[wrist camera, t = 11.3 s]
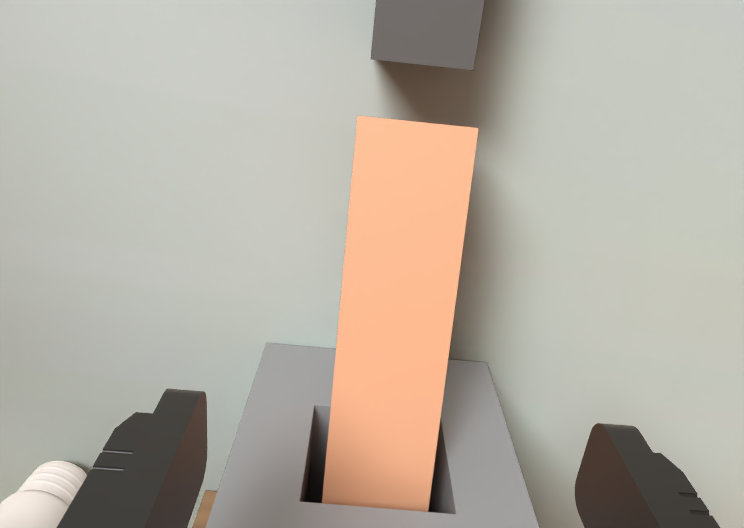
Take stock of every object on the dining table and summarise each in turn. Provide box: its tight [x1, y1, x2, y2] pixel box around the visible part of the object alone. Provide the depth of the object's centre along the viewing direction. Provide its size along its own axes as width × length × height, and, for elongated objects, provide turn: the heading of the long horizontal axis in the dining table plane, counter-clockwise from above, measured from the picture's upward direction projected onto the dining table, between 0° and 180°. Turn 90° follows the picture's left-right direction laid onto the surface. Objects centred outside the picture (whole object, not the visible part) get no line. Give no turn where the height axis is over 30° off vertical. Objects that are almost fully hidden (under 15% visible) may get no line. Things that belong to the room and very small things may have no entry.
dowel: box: [322, 116, 479, 512], centre depth 19 cm, size 16×3×3 cm, turn 174°
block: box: [206, 343, 539, 528], centre depth 21 cm, size 8×9×10 cm
